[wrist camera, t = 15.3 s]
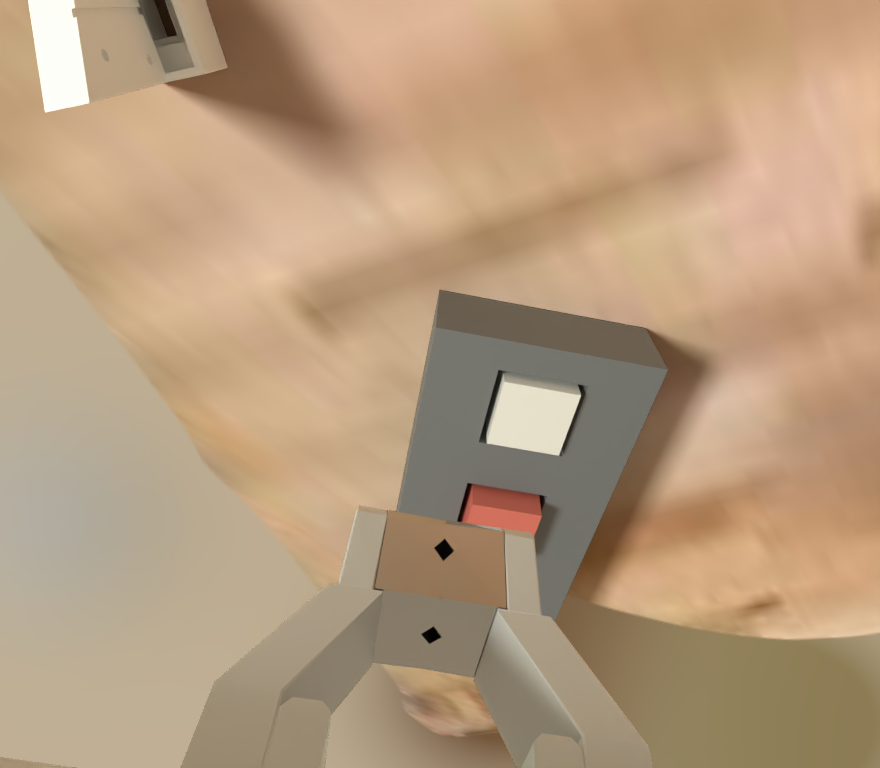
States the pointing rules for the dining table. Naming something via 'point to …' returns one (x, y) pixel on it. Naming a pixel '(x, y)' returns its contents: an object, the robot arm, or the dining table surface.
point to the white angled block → (118, 47)
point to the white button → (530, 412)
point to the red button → (500, 508)
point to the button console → (550, 476)
